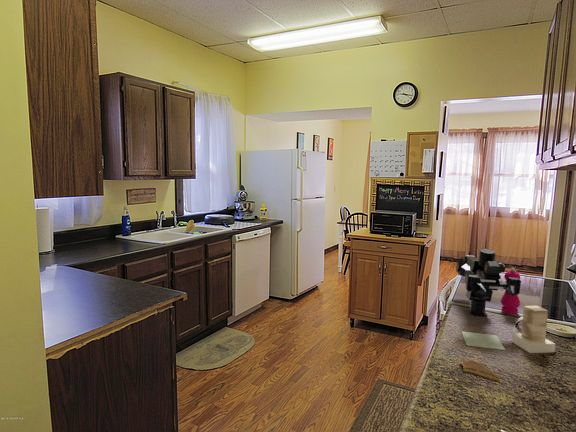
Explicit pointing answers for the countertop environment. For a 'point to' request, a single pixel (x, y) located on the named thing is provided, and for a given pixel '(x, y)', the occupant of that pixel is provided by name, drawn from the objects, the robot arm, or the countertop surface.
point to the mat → (482, 340)
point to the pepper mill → (509, 301)
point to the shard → (478, 369)
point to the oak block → (534, 323)
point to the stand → (533, 344)
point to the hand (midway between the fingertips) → (499, 293)
